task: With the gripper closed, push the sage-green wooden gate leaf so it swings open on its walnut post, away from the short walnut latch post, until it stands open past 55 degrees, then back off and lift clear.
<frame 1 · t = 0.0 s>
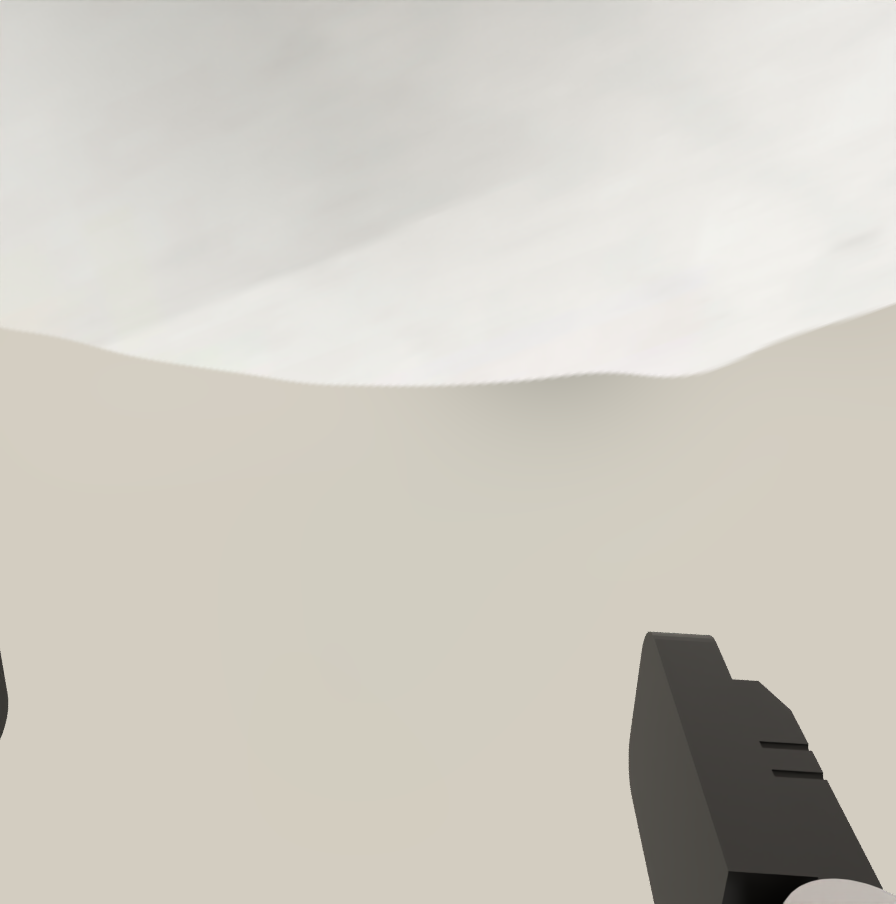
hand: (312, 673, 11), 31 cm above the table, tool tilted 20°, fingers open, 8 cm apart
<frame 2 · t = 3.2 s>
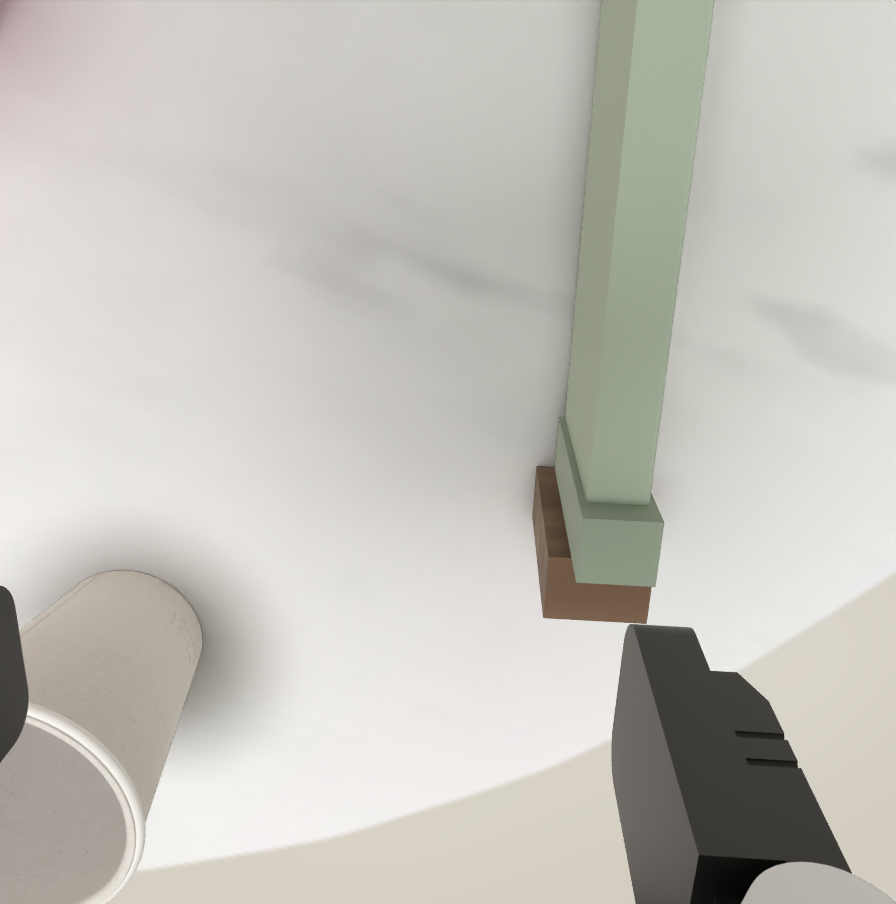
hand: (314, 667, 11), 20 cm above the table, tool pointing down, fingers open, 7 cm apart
gate leaf: (636, 151, 22), point 5 cm above the table, hinge at 0.0°
dixie cup: (134, 630, 35), on the table
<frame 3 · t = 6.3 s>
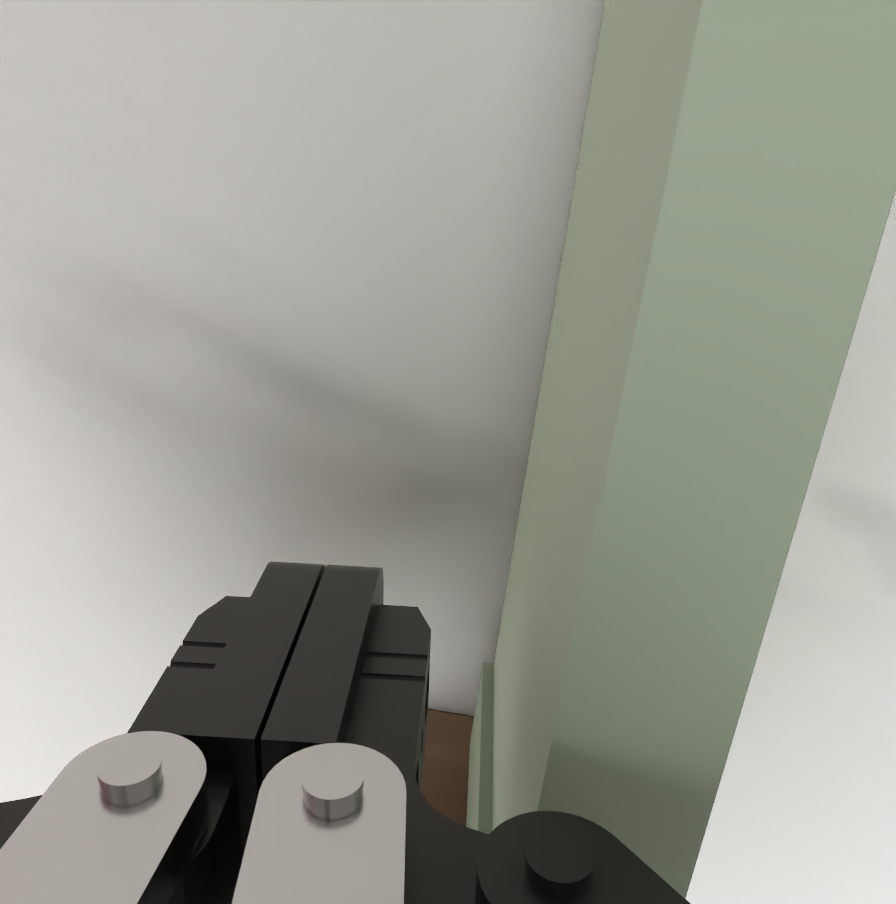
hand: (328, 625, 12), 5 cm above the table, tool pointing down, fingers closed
gate leaf: (679, 221, 9), point 6 cm above the table, hinge at 1.8°, touching gripper
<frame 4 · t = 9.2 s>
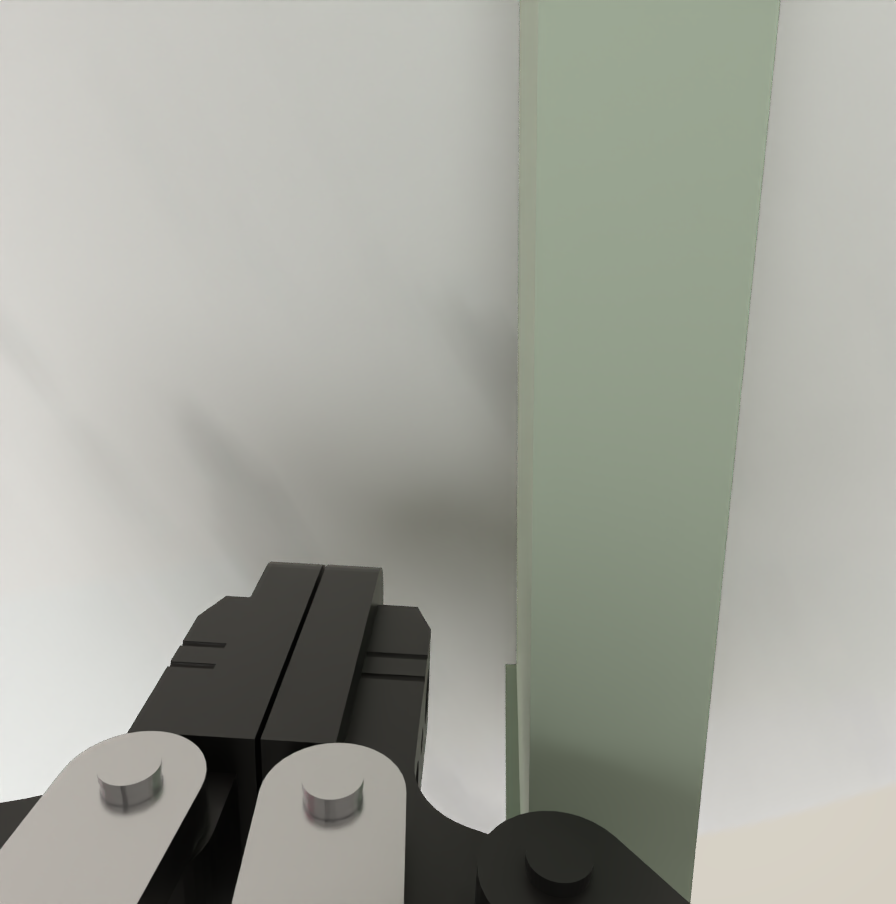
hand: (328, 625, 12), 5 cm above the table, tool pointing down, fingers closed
gate leaf: (601, 204, 9), point 5 cm above the table, hinge at 40.9°, touching gripper
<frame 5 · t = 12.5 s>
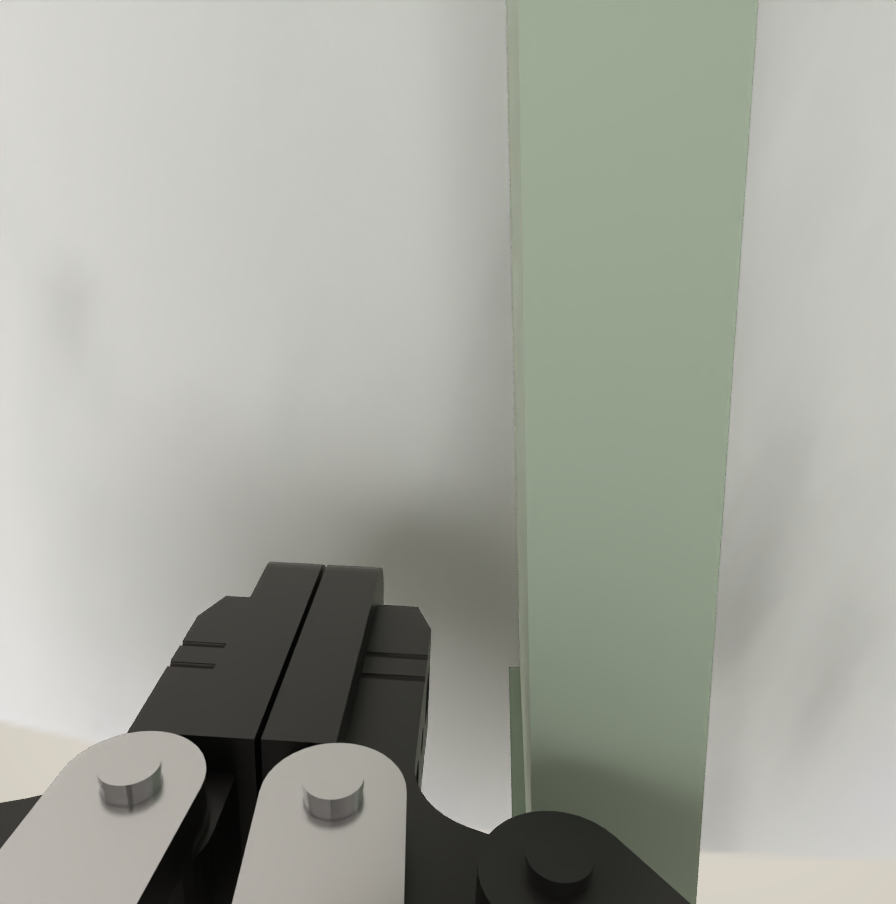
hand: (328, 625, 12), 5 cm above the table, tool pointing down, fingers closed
gate leaf: (590, 201, 9), point 6 cm above the table, hinge at 79.9°, touching gripper
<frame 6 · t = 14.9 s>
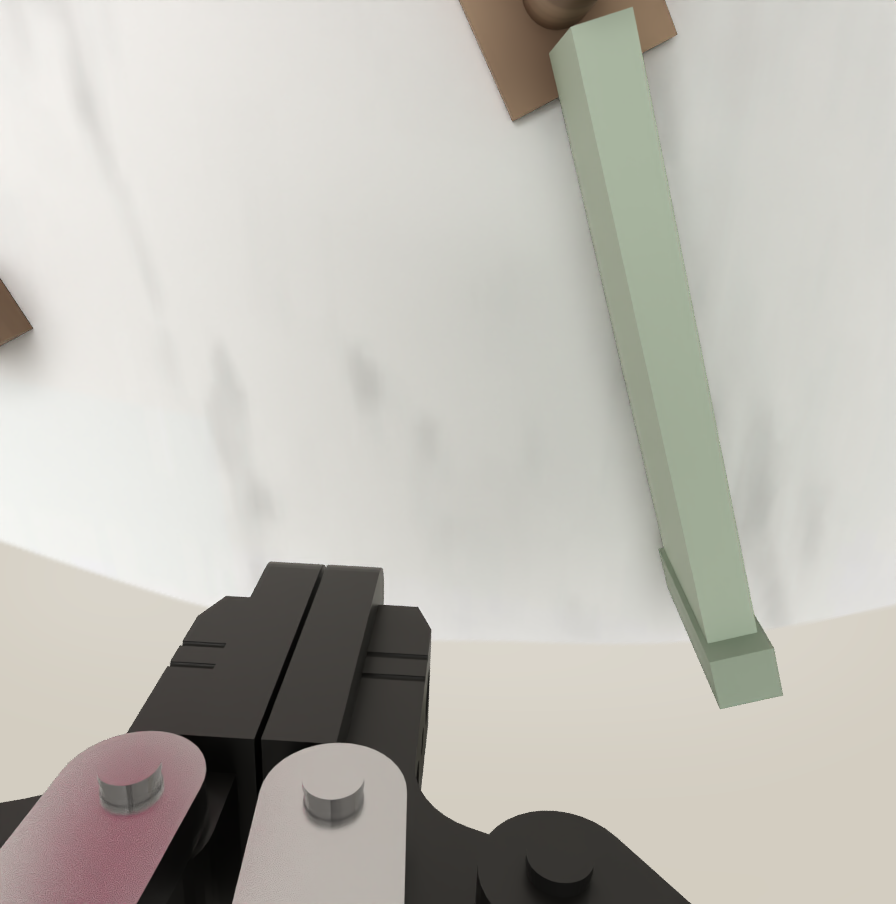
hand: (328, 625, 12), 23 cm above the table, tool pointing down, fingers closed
gate leaf: (660, 368, 28), point 6 cm above the table, hinge at 79.9°
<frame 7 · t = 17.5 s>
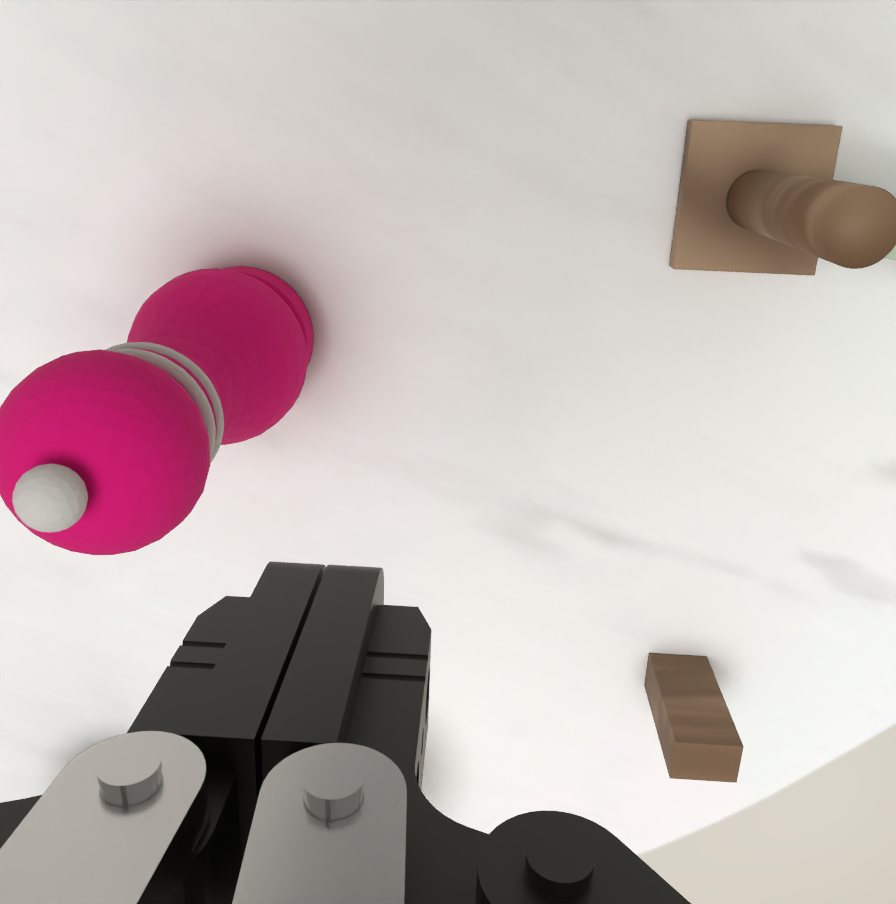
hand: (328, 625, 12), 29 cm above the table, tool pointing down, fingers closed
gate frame: (748, 197, 37), on the table
pepper mill: (248, 332, 40), on the table
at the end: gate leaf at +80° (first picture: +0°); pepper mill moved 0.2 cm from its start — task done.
